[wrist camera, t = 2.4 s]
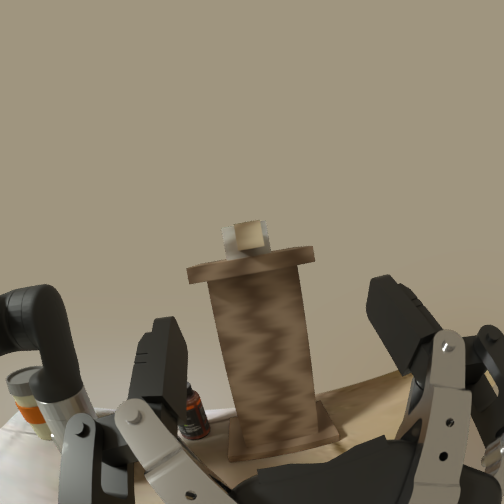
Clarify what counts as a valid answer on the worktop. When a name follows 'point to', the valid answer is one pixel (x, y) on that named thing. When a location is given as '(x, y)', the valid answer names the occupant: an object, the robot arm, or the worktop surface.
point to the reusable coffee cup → (28, 400)
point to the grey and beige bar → (246, 239)
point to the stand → (266, 353)
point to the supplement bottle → (194, 417)
